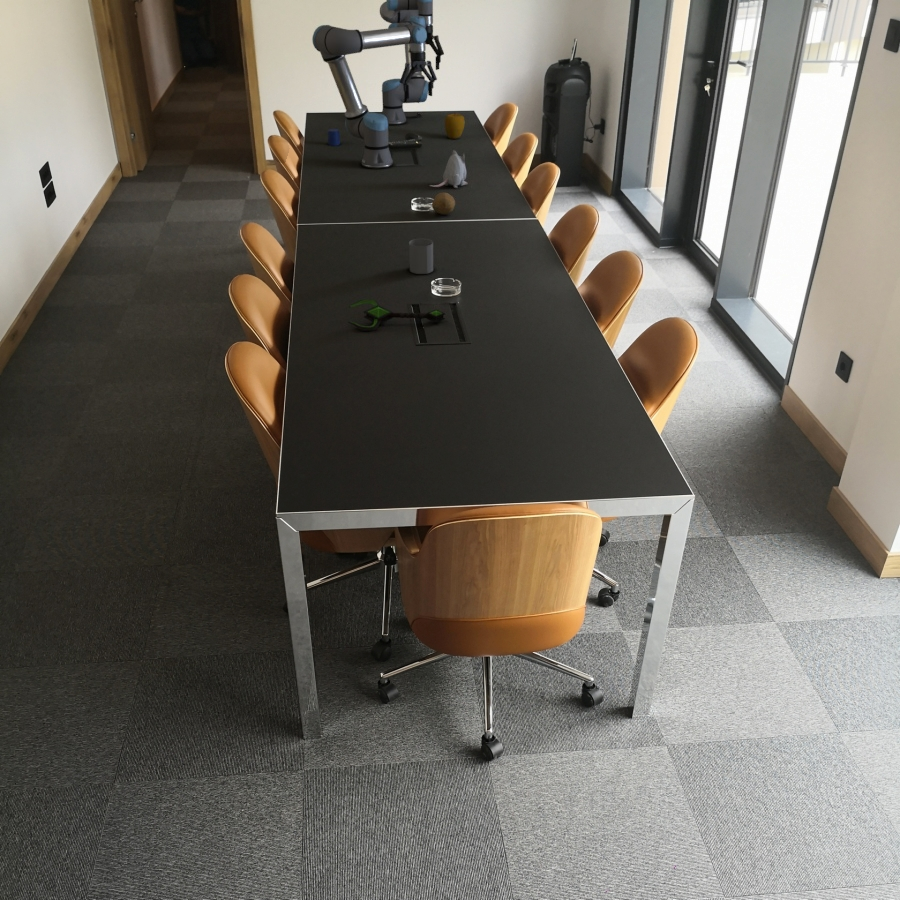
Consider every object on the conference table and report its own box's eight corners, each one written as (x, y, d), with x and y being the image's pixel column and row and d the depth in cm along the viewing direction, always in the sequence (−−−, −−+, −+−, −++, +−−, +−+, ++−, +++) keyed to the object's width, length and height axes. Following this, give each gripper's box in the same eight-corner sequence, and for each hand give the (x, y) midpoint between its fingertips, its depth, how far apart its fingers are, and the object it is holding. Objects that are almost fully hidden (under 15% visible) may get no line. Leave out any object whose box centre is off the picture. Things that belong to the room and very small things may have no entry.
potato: (453, 208, 369) (453, 189, 365) (456, 218, 357) (456, 199, 353) (431, 208, 368) (430, 189, 364) (432, 218, 356) (432, 199, 352)
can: (326, 144, 463) (325, 130, 459) (332, 142, 467) (331, 128, 463) (335, 146, 460) (334, 131, 456) (342, 143, 465) (341, 129, 461)
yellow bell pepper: (464, 140, 471) (464, 115, 464) (444, 140, 471) (444, 115, 464) (464, 135, 480) (464, 111, 473) (444, 135, 480) (444, 111, 473)
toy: (472, 184, 399) (472, 151, 391) (436, 195, 384) (436, 161, 376) (457, 180, 404) (458, 147, 396) (422, 191, 389) (421, 157, 381)
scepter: (445, 294, 271) (348, 292, 269) (446, 325, 264) (347, 323, 262) (443, 307, 276) (349, 305, 274) (445, 338, 269) (347, 336, 267)
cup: (409, 265, 311) (408, 238, 306) (432, 265, 312) (431, 238, 307) (410, 274, 304) (409, 246, 299) (433, 273, 305) (433, 246, 299)
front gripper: (435, 48, 437) (436, 93, 448) (392, 52, 426) (393, 98, 437) (443, 50, 431) (443, 95, 443) (399, 54, 420) (400, 100, 432)
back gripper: (401, 23, 455) (402, 67, 466) (443, 26, 445) (443, 71, 457) (408, 22, 460) (409, 65, 472) (450, 25, 451) (450, 69, 462)
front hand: (418, 97), depth 440 cm, fingers open, 13 cm apart
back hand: (426, 68), depth 464 cm, fingers open, 13 cm apart
